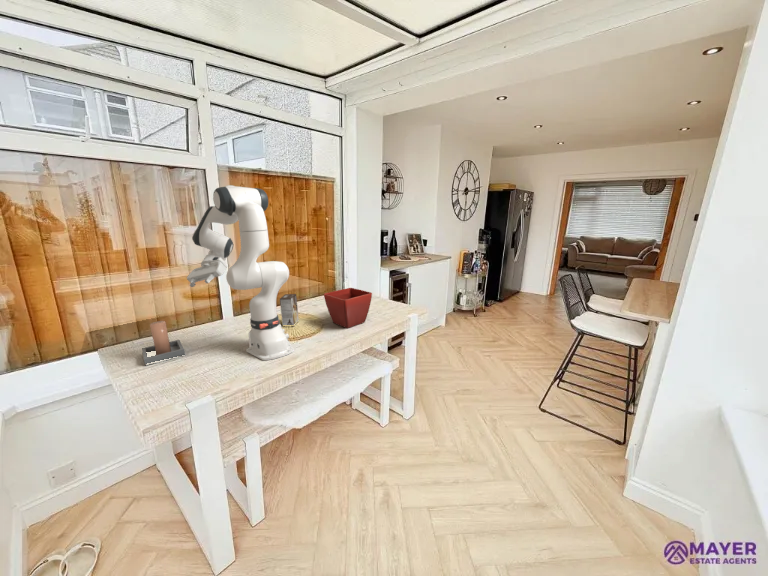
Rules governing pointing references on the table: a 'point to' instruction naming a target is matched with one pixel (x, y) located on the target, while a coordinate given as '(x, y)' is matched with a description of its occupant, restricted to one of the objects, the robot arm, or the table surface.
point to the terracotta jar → (160, 337)
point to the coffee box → (289, 309)
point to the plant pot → (348, 306)
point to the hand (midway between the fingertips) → (199, 284)
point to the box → (175, 351)
